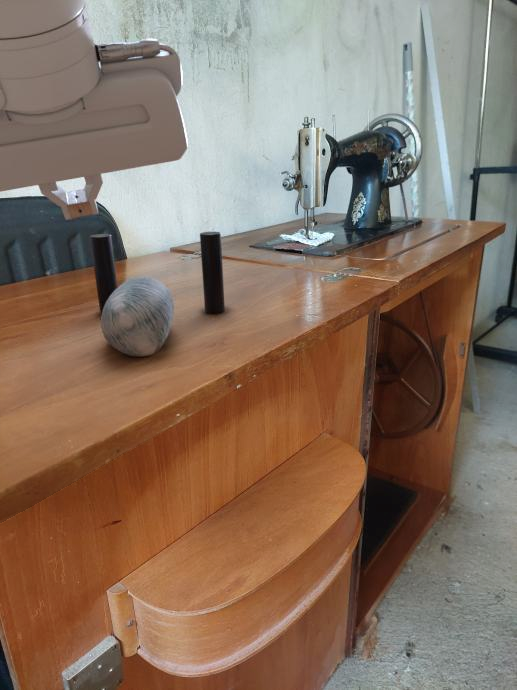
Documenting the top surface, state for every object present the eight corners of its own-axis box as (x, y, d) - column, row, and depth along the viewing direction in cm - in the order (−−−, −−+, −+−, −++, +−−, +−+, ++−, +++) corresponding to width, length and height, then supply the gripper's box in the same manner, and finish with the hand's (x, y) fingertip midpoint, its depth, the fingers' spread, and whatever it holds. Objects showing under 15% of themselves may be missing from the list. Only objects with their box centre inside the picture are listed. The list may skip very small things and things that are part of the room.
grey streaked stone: (128, 332, 74) (84, 279, 68) (185, 299, 73) (146, 243, 67) (132, 392, 63) (81, 336, 57) (200, 354, 62) (155, 293, 56)
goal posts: (98, 317, 78) (86, 237, 73) (104, 311, 80) (93, 234, 76) (223, 315, 77) (219, 234, 73) (225, 309, 80) (221, 231, 75)
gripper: (168, 16, 39) (185, 171, 51) (-127, 52, 35) (-37, 212, 46) (188, 56, 36) (202, 212, 47) (-136, 100, 32) (-37, 260, 43)
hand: (81, 212), depth 47 cm, fingers closed
